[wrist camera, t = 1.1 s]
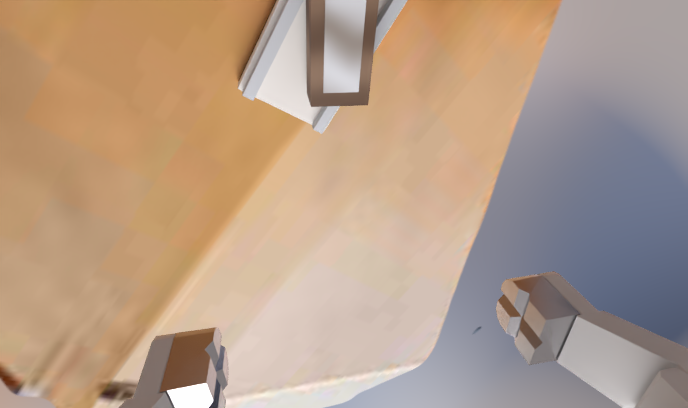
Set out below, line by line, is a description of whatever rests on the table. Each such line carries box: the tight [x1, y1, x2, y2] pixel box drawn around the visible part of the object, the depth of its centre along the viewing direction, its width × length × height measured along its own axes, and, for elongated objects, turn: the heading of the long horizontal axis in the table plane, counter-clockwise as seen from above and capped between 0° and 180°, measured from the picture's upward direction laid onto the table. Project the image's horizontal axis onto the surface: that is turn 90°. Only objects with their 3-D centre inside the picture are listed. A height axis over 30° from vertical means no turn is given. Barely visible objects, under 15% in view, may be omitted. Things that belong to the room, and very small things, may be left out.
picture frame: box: [306, 0, 379, 107], centre depth 34 cm, size 14×6×4 cm, turn 176°
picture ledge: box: [238, 0, 407, 133], centre depth 36 cm, size 22×11×3 cm, turn 146°
